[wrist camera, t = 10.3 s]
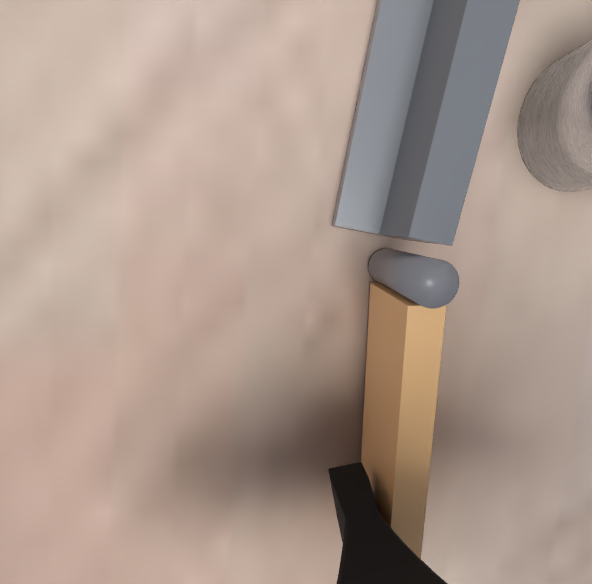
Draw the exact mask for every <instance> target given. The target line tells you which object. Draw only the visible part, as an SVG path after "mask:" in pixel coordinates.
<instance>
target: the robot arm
mask: <svg viewBox="0 0 592 584" xmlns="http://www.w3.org/2000/svg"><path fill="white" fill-rule="evenodd" d="M328 470H329V475H330V480H331V486H332V491H333V497H334V502H335V508H336V513H337V518H338V523H339V527H340V532H341V537H342V541H343V548H342V556H341V562H340V568H339V574H338V580H337V584H447V583H446V582H445V581H444V580H443V579H441V578H440V577H439V576H438V575H437V574H436V573H435V572H433V571H432V570H431V569H430V568H429V567H428V566H427V565H426V564H425V563H424V562H423V561H422V560H421V559H420V558H419V557H418V556H417V555H416V554H415V553H414V552H413V551H412V550H411V549H410V548H409V547H408V546H407V545H406V544H405V543H404V542H403V541H402V540H401V538H400V537H399V536H398V535H397V534H396V533H395V532H394V531H393V529H392V528H391V527H390V526H389V525H388V524H387V523H386V521H385V520H384V519H383V518H382V516H381V515H380V514H379V512H378V509H377V505H376V502H375V498H374V494H373V491H372V487H371V484H370V480H369V477H368V475H367V473H366V470H365V468H364V466H363V464H362V462H359V463H354V464H349V465H344V466H340V467H335V468H330V469H328Z"/></svg>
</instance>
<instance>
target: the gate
mask: <svg viewBox="0 0 592 584" xmlns="http://www.w3.org/2000/svg"><path fill="white" fill-rule="evenodd" d="M369 273H370V275H371V276H372V278H373V279H375V280H376V281H378V282H380V283H370V301H369V320H368V339H367V358H366V377H365V396H364V415H363V434H362V453H361V462H362V464H363V466H364V468H365V470H366V473H367V475H368V477H369V480H370V484H371V487H372V491H373V494H374V498H375V502H376V505H377V509H378V512H379V514H380V515H381V516H382V518H383V519H384V520H385V521H386V523H387V524H388V525H389V526H390V527H391V528H392V529H393V531H394V532H395V533H396V534H397V535H398V536H399V537H400V538H401V540H402V541H403V542H404V543H405V544H406V545H407V546H408V547H409V548H410V549H411V550H412V551H413V552H414V553H415V554H416V555H417V556H418V557H419V558H420V559H421V550H422V540H423V531H424V521H425V511H426V501H427V491H428V481H429V471H430V461H431V451H432V442H433V432H434V422H435V412H436V402H437V392H438V382H439V372H440V363H441V353H442V343H443V333H444V323H445V313H446V304H448V303H449V302H450V301H451V300H452V299H453V298H454V297H455V295H456V293H457V291H458V288H459V276H458V273H457V271H456V269H455V268H454V267H453V266H452V265H451V264H450V263H448V262H447V261H444V260H439V259H435V258H430V257H425V256H421V255H416V254H412V253H407V252H402V251H398V250H393V249H388V248H386V249H381V250H378V251H377V252H375V253H374V254H373V255H372V257H371V259H370V261H369Z"/></svg>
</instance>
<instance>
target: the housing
mask: <svg viewBox="0 0 592 584" xmlns="http://www.w3.org/2000/svg"><path fill="white" fill-rule="evenodd" d="M519 1H520V0H378V2H377V7H376V12H375V16H374V21H373V26H372V31H371V36H370V41H369V46H368V51H367V56H366V60H365V65H364V70H363V75H362V80H361V85H360V90H359V95H358V100H357V104H356V109H355V114H354V119H353V124H352V129H351V134H350V139H349V144H348V149H347V153H346V158H345V163H344V168H343V173H342V178H341V183H340V188H339V193H338V197H337V202H336V207H335V212H334V217H333V222H332V226H337V227H342V228H347V229H352V230H357V231H363V232H368V233H373V234H378V235H383V236H388V237H393V238H399V239H404V240H410V241H418V242H426V243H435V244H443V245H451V246H452V244H453V240H454V237H455V233H456V230H457V226H458V222H459V219H460V215H461V211H462V208H463V204H464V201H465V197H466V193H467V190H468V186H469V182H470V179H471V175H472V172H473V168H474V164H475V161H476V157H477V153H478V150H479V146H480V143H481V139H482V135H483V132H484V128H485V124H486V121H487V117H488V113H489V110H490V106H491V103H492V99H493V95H494V92H495V88H496V84H497V81H498V77H499V74H500V70H501V66H502V63H503V59H504V55H505V52H506V48H507V45H508V41H509V37H510V34H511V30H512V26H513V23H514V19H515V16H516V12H517V8H518V5H519Z"/></svg>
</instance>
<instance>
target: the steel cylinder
mask: <svg viewBox="0 0 592 584" xmlns="http://www.w3.org/2000/svg"><path fill="white" fill-rule="evenodd" d="M518 145H519V149H520V153H521V156H522V158H523V161H524V163H525V165H526V167H527V168H528V170H529V171H530V172H531V174H532V175H533V176H534V177H535V178H536V179H537V180H539V181H540V182H541V183H543V184H544V185H546V186H548V187H550V188H553V189H556V190H560V191H566V192H574V191H583V190H591V189H592V40H591V41H590V42H588V43H586V44H585V45H583V46H581V47H579V48H578V49H576V50H574V51H573V52H571V53H569V54H568V55H566V56H564V57H563V58H561V59H559V60H558V61H556V62H554V63H553V64H552V65H550V66H549V67H548V68H547V69H546V70H545V71H544V72H543V73H542V74H541V75H540V76H539V77H538V78H537V79H536V81H535V82H534V83H533V85H532V86H531V88H530V89H529V91H528V93H527V95H526V97H525V99H524V102H523V105H522V107H521V111H520V115H519V120H518Z"/></svg>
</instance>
